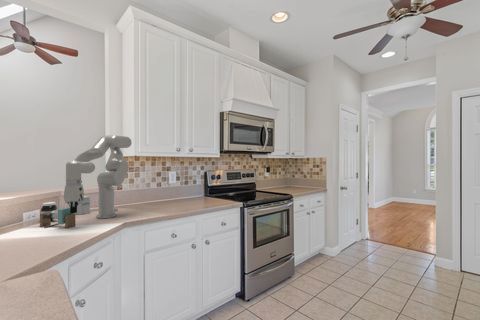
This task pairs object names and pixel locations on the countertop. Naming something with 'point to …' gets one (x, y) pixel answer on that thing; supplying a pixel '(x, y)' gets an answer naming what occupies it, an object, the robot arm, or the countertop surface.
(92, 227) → the countertop surface
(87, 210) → the supplement box
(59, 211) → the teal flat block
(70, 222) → the brown wooden rack
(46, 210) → the spread jar
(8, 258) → the countertop surface
